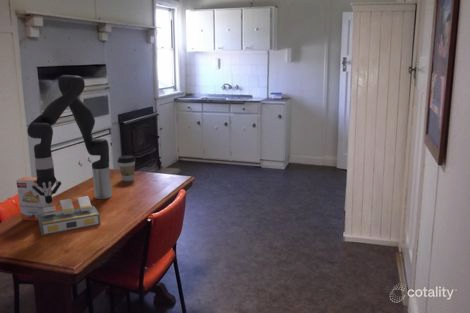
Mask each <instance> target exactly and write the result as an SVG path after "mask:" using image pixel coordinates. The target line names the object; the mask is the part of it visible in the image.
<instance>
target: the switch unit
mask: <svg viewBox="0 0 470 313" xmlns="http://www.w3.org/2000/svg"><path fill="white" fill-rule="evenodd" d="M91 206H92V210H89V211H83V212H81V210H80V207H79V208H74V213H72V214H66V215H63V212H62V210H61V211H53V213H48V214H43V215H38V220H39V221H38V226H39V230H40V233H41V234H40V235H41V236H46V235H50V234H55V233H61V232H66V231H72V230H78V229H83V228H87V227H93V226H99V225H101V214H100V212H99V211H98V210H97V207H95V206H94V205H91Z"/></svg>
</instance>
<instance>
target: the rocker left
mask: <svg viewBox="0 0 470 313" xmlns="http://www.w3.org/2000/svg"><path fill="white" fill-rule="evenodd" d="M47 212H53V213H54V212H57V209H56V205H52V206H51V207H45V208H43V213H47Z"/></svg>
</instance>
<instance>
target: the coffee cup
mask: <svg viewBox="0 0 470 313" xmlns="http://www.w3.org/2000/svg"><path fill="white" fill-rule="evenodd" d="M117 163H118V166H119V172H120V175H121V180H122V182H133V181H134V179H135V169H136V165H135V164H136V157H134V155H130V154H129V155H121V156H119V157H118V159H117Z"/></svg>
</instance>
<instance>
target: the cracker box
mask: <svg viewBox="0 0 470 313" xmlns="http://www.w3.org/2000/svg"><path fill="white" fill-rule="evenodd" d="M36 180H37V177H31V176H28V177H27V176H23V177H21V178H18V179H16V186H17V187H16V188H17V194H18V202H19V210H20V216H21V220H22V221H33V222H39V220H38V215H43V214H48V213H54V211H53V212H47V213H43V208H45V207H51V206H53V204H52V203H53V202H51V203H50V204H47V203H46V201H45V196H41V195H40V194H39V193H38V192H36V191H35V190H34V189H33V188H32V185H34V184H35V183H36ZM37 186H38V189H39V190H41V191H42V192H44V190H43V189H42V188H41V187H40V186H39V185H37ZM47 194H48V188H47Z"/></svg>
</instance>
